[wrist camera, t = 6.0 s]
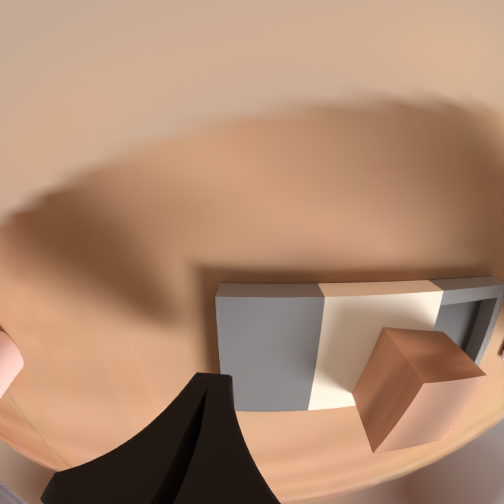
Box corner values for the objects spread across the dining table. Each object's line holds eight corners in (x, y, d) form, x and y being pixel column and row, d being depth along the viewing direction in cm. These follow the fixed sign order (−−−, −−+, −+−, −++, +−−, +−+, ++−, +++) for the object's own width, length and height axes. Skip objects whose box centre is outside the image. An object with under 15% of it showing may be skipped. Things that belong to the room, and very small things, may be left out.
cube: (443, 331, 11) (486, 375, 7) (411, 391, 12) (439, 440, 8) (382, 327, 10) (423, 383, 7) (351, 393, 12) (372, 453, 8)
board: (492, 275, 11) (506, 284, 10) (463, 364, 13) (474, 375, 11) (220, 282, 12) (215, 296, 10) (227, 391, 13) (224, 410, 12)
